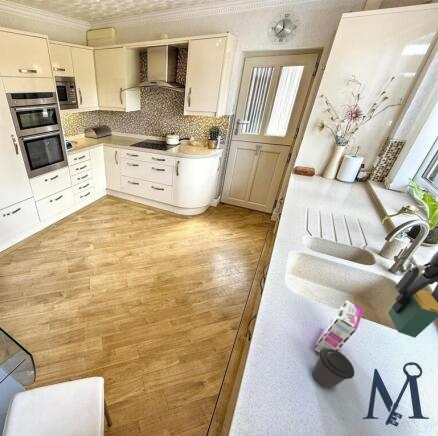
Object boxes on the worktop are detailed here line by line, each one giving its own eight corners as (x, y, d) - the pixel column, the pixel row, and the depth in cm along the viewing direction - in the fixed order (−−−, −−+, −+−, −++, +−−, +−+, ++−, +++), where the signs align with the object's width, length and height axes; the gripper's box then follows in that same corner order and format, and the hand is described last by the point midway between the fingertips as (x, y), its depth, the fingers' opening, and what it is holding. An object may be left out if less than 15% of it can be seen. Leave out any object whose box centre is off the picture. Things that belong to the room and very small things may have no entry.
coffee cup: (345, 394, 65) (364, 376, 60) (317, 394, 65) (334, 376, 60) (326, 364, 72) (341, 346, 67) (300, 364, 72) (314, 345, 67)
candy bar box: (329, 362, 73) (357, 330, 65) (312, 349, 76) (336, 318, 68) (339, 340, 80) (365, 309, 71) (322, 329, 83) (346, 298, 74)
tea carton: (444, 311, 63) (428, 291, 69) (424, 305, 64) (410, 286, 71) (415, 338, 69) (403, 317, 75) (397, 332, 70) (387, 312, 77)
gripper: (426, 252, 61) (375, 310, 73) (520, 275, 55) (448, 334, 67) (412, 238, 67) (367, 294, 79) (496, 257, 61) (434, 314, 73)
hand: (404, 312), depth 73 cm, fingers closed on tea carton, 4 cm apart
